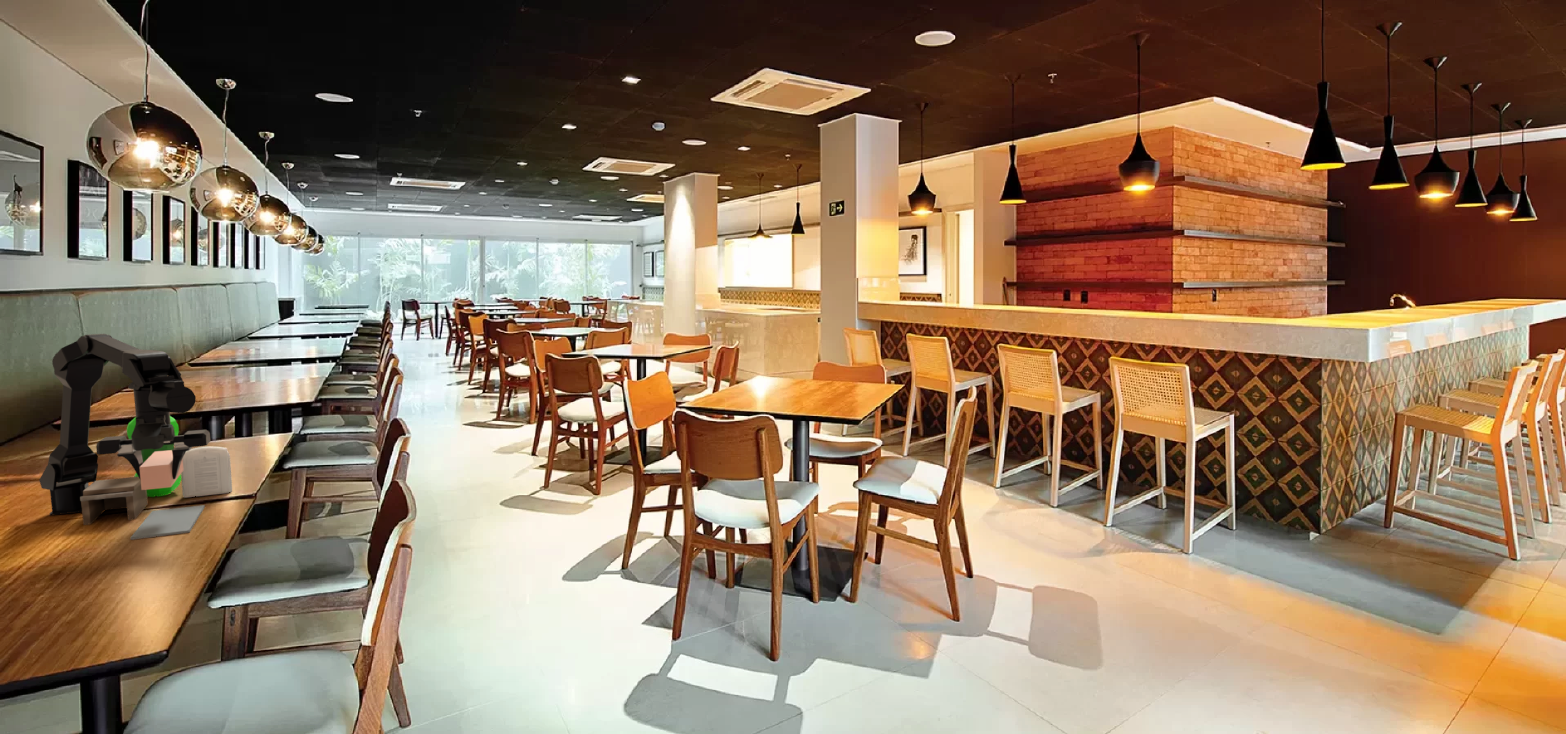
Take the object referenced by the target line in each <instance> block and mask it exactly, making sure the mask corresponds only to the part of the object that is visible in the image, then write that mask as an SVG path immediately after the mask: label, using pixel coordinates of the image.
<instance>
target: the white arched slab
mask: <svg viewBox="0 0 1566 734" xmlns="http://www.w3.org/2000/svg"><path fill="white" fill-rule="evenodd" d="M228 450H229V449H228V447H225V446H224V447H223V446H215V445H214V446H212V445H211V446H208V445H206V446H198V447H192V448H191V449H190V450H189V451H186V452H185V454H184V456H183V469H184V470H183V472H182V473H181V491H182V493H181V494H182V497H183V498H184V499H185V498H192V497H193V498H195V496H196V497H204V496H212V495H213V496H214V495H223V494H230V493H232V492H233V482H232V481H233V480H232V466H231V464H232V463H231V455H230V452H229V451H228ZM229 492H230V493H229Z"/></svg>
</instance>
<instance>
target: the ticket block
mask: <svg viewBox="0 0 1566 734" xmlns="http://www.w3.org/2000/svg"><path fill="white" fill-rule="evenodd" d="M172 463H173V454H172V450H168V451H156V452H154V453H153V454H152V455H151V456H150V457H149V458H148V459H147V460H146V461H145V462H144V463H143V464H142V465H141V466H140V467H139V468H140V478H141V489H142V490H148V489H158V488H167V487H171V486H172V485H173V484H174V482H175V481H176V480H177V478H178V477H179V476H180V474H181V473H182V472H183V470H184V469H183V458H182V461H181V464H180V467H179V470H178V473H177V476H176V479H173V476H172Z"/></svg>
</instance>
